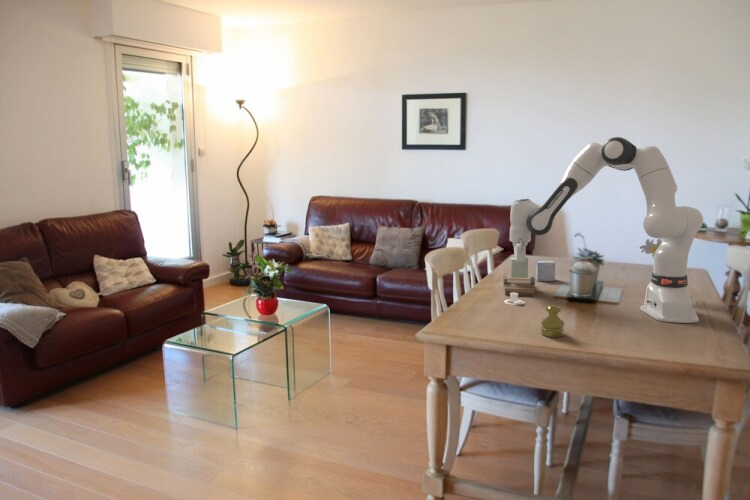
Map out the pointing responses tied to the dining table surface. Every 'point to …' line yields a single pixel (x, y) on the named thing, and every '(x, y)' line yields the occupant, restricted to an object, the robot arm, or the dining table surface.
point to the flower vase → (650, 248)
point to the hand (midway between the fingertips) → (519, 268)
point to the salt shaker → (552, 323)
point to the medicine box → (545, 271)
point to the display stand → (519, 286)
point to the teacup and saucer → (514, 299)
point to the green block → (519, 273)
